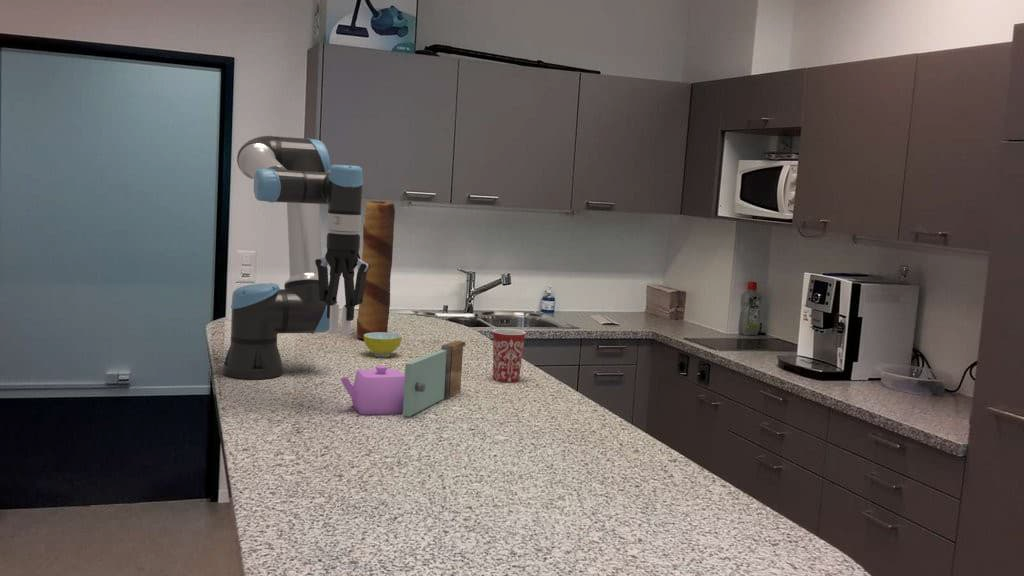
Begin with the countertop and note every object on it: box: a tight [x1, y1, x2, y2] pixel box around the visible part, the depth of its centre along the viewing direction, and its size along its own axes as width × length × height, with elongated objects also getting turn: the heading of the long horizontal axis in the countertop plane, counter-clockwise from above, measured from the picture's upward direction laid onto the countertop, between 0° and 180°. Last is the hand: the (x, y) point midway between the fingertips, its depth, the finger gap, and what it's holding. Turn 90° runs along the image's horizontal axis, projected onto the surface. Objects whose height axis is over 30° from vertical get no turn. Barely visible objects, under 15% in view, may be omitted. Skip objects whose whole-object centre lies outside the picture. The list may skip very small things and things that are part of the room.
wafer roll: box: [356, 200, 396, 340], centre depth 300 cm, size 10×11×45 cm
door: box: [402, 349, 446, 417], centre depth 216 cm, size 20×3×12 cm, turn 161°
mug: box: [492, 328, 527, 383], centre depth 255 cm, size 13×9×14 cm
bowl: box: [363, 332, 403, 358], centre depth 276 cm, size 11×12×6 cm
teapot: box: [339, 365, 405, 416], centre depth 213 cm, size 18×10×10 cm, turn 112°
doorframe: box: [440, 340, 466, 400], centre depth 231 cm, size 3×10×13 cm, turn 161°
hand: (339, 333), depth 215 cm, fingers open, 3 cm apart
